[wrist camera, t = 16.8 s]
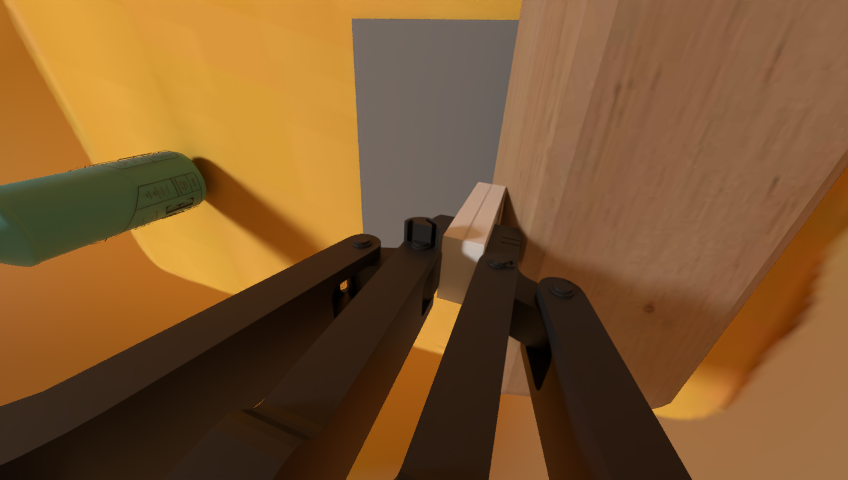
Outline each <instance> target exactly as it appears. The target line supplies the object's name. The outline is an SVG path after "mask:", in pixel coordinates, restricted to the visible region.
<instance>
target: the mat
mask: <svg viewBox="0 0 848 480" xmlns="http://www.w3.org/2000/svg"><path fill="white" fill-rule="evenodd" d="M518 25H519V20H437V19H352V32H353V50H354V69H355V87H356V106H357V125H358V143H359V162H360V180H361V199H362V217H363V234H370V235H373V236H376V237H377V238H379V239H380V241H381V247H387V248H398V247H399V246H400V245H401V244H402V243H403V242H404V221H405V220H407V219H408V218H412V217H428V218H431V219H433V218H434V217H436V216H438V215H440V214H442V215H447V216H452V217H456V215H457V214H458V212H459V211H460V209H461V208H462V206H463V205H464V203H465V202H466V200H467V199H468V197H469V196H470V194H471V192H472V191H473V189H474V188H475V186H476V185H477V183H478V182H482V183H488V184H492V183H493V177H494V171H495V165H496V159H497V153H498V147H499V141H500V135H501V128H502V122H503V116H504V110H505V104H506V98H507V92H508V86H509V80H510V74H511V68H512V61H513V55H514V49H515V43H516V37H517V31H518Z"/></svg>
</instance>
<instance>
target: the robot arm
mask: <svg viewBox="0 0 848 480" xmlns="http://www.w3.org/2000/svg"><path fill="white" fill-rule="evenodd" d="M505 188H506V186H500V185H494V184H488V183H482V182H478V183H477V185H476V186H475V188H474V189H473V191H472V192H471V194H470V196H469V197H468V199H467V200H466V202H465V203H464V205H463V206H462V208H461V209H460V211H459V212H458V214H457V215H456V217H452V216H447V215H442V214H440V215H438V216H436V217H434V218H433V219H431V218H428V217H412V218H408V219H407V220H405V221H404V242H403V243H402V244H401V245H400V246H399V247H398V248H387V247H381V241H380V239H379V238H377V237H376V236H373V235H370V234H358V235H354V236H351V237H348V238H346V239H344V240H342V241H340V242H338V243H336V244H334V245H332V246H330V247H328V248H326V249H325V250H323V251H321V252H319V253H317V254H315V255H313V256H311V257H309V258H307V259H305V260H303V261H301V262H299V263H297V264H295V265H293V266H291V267H289V268H287V269H285V270H283V271H281V272H279V273H277V274H275V275H273V276H271V277H269V278H267V279H265V280H263V281H261V282H259V283H257V284H255V285H253V286H251V287H249V288H247V289H245V290H243V291H241V292H239V293H237V294H235V295H233V296H231V297H229V298H227V299H226V300H223V301H221V302H220V303H218V304H216V305H214V306H212V307H210V308H208V309H206V310H204V311H202V312H200V313H198V314H196V315H194V316H192V317H190V318H188V319H186V320H184V321H182V322H180V323H178V324H176V325H174V326H172V327H170V328H168V329H166V330H164V331H162V332H160V333H158V334H156V335H154V336H152V337H150V338H148V339H146V340H144V341H142V342H140V343H138V344H136V345H134V346H132V347H130V348H128V349H126V350H125V351H122V352H120V353H119V354H116V355H114V356H112V357H111V358H109V359H107V360H105V361H103V362H101V363H99V364H97V365H95V366H93V367H91V368H89V369H87V370H85V371H83V372H81V373H79V374H77V375H75V376H73V377H71V378H69V379H67V380H65V381H63V382H61V383H59V384H57V385H55V386H53V387H51V388H49V389H47V390H45V391H43V392H40V393H37V394H34V395H32V396H29V397H26V398H23V399H20V400H17V401H14V402H12V403H9V404H6V405H3V406H0V480H346V478H347V476H348V474H349V472H350V470H351V468H352V466H353V464H354V462H355V460H356V458H357V456H358V454H359V452H360V450H361V448H362V446H363V444H364V442H365V440H366V438H367V436H368V434H369V432H370V430H371V428H372V426H373V424H374V422H375V420H376V418H377V416H378V414H379V412H380V410H381V408H382V406H383V404H384V402H385V400H386V398H387V396H388V394H389V392H390V390H391V388H392V386H393V384H394V382H395V380H396V378H397V376H398V374H399V372H400V370H401V368H402V366H403V364H404V362H405V360H406V358H407V356H408V354H409V352H410V350H411V348H412V346H413V344H414V342H415V340H416V338H417V336H418V334H419V332H420V330H421V328H422V326H423V324H424V322H425V320H426V318H427V316H428V314H429V312H430V310H431V308H432V306H433V300H434V294H435V292H436V290H437V288H438V290H437V298H441V299H444V300H448V301H452V302H455V303H459V304H462V306H461V308H460V311H459V314H458V316H457V319H456V322H455V324H454V327H453V330H452V333H451V335H450V338H449V341H448V343H447V346H446V349H445V351H444V354H443V357H442V360H441V362H440V365H439V368H438V370H437V373H436V376H435V378H434V381H433V384H432V386H431V389H430V392H429V395H428V397H427V400H426V403H425V405H424V408H423V411H422V413H421V416H420V419H419V421H418V424H417V427H416V430H415V432H414V435H413V438H412V440H411V443H410V446H409V448H408V451H407V454H406V457H405V459H404V462H403V464H402V467H401V469H400V472H399V473H398V475H397V477H396V478H395V479H394V480H489V473H490V466H491V459H492V452H493V445H494V438H495V431H496V424H497V417H498V416H497V415H498V410H499V402H500V395H501V388H502V381H503V374H504V367H505V360H506V353H507V346H508V339H509V336H510V337H512V338H514V339H515V340H517V341H519V342H520V350H521V355H522V359H523V364H524V368H525V373H526V377H527V382H528V386H529V391H530V395H531V399H532V404H533V409H534V413H535V418H536V422H537V426H538V431H539V436H540V440H541V444H542V449H543V454H544V458H545V462H546V467H547V471H548V476H549V480H692V479H691V477H690V475H689V474H688V472H687V470H686V468H685V467H684V465H683V463H682V461H681V460H680V458H679V456H678V454H677V453H676V451H675V449H674V447H673V446H672V444H671V442H670V440H669V439H668V437H667V435H666V434H665V432H664V430H663V428H662V427H661V425H660V423H659V421H658V420H657V418H656V416H655V414H654V413H653V411H652V409H651V407H650V406H649V404H648V402H647V401H646V399H645V397H644V395H643V394H642V392H641V390H640V388H639V387H638V385H637V383H636V381H635V380H634V378H633V376H632V374H631V373H630V371H629V369H628V368H627V366H626V364H625V362H624V361H623V359H622V357H621V355H620V354H619V352H618V350H617V348H616V347H615V345H614V343H613V341H612V340H611V338H610V336H609V335H608V333H607V331H606V329H605V328H604V326H603V324H602V322H601V321H600V319H599V317H598V315H597V314H596V312H595V310H594V308H593V307H592V305H591V303H590V302H589V300H588V298H587V296H586V295H585V293H584V292H583V290H582V289H581V288H580V287H579V286H577V285H576V284H574V283H573V282H571V281H569V280H567V279H564V278H558V277H546V278H543V279H541V281H540V282H539V283H537V282H535V281H533V280H531V279H529V278H527V277H526V276H524V275H523V274H522V273H521V272H520V271H519V269H518V268H519V267H518V256H519V250H520V243H521V236H522V234H521V233H520V231H519V230H518V229H517V228H512V227H507V226H502V225H498V223H499V218H500V213H501V208H502V203H503V198H504V193H505ZM346 280H347V288H345V289H343V290H341V289H340V284H341V283H342V282H344V281H346ZM262 400H263V401H262ZM261 401H262V402H261ZM260 402H261V403H260ZM259 403H260V404H259ZM257 404H259V405H258V406H257V407H255V406H256V405H257ZM254 407H255V408H254Z"/></svg>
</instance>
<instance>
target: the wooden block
mask: <svg viewBox="0 0 848 480" xmlns="http://www.w3.org/2000/svg"><path fill="white" fill-rule="evenodd" d="M847 166H848V0H523V1H522V7H521V13H520V19H519V25H518V31H517V37H516V43H515V49H514V55H513V61H512V68H511V74H510V80H509V86H508V92H507V98H506V104H505V110H504V116H503V122H502V128H501V135H500V141H499V147H498V153H497V159H496V165H495V171H494V177H493V183H492V184H494V185H500V186H506V188H505V193H504V198H503V203H502V208H501V213H500V218H499V223H498V225H502V226H507V227H512V228H517V229H518V230H519V231H520V233H521V234H522V236H521V243H520V250H519V256H518V267H519V268H518V269H519V271H520V272H521V273H522V274H523V275H524V276H526V277H527V278H529V279H531V280H533V281H535V282H537V283H539V282H540V281H541V279H543V278H546V277H558V278H564V279H567V280H569V281H571V282H573V283H574V284H576V285H577V286H579V287H580V288H581V289H582V290H583V292H584V293H585V295H586V296H587V298H588V300H589V302H590V303H591V305H592V307H593V308H594V310H595V312H596V314H597V315H598V317H599V319H600V321H601V322H602V324H603V326H604V328H605V329H606V331H607V333H608V335H609V336H610V338H611V340H612V341H613V343H614V345H615V347H616V348H617V350H618V352H619V354H620V355H621V357H622V359H623V361H624V362H625V364H626V366H627V368H628V369H629V371H630V373H631V374H632V376H633V378H634V380H635V381H636V383H637V385H638V387H639V388H640V390H641V392H642V394H643V395H644V397H645V399H646V401H647V402H648V404H649V406H650V407H651V409H654V408H658V407H662V406H665V405H667V404H669V403H671V402H672V400H673V399H674V398H675V396H676V395H677V394H678V392H679V391H680V390H681V388H682V387H683V386H684V384H685V383H686V382H687V380H688V379H689V378H690V376H691V375H692V374H693V372H694V371H695V370H696V368H697V367H698V366H699V364H700V363H701V361H702V360H703V359H704V357H705V356H706V355H707V353H708V352H709V351H710V349H711V348H712V347H713V345H714V344H715V343H716V341H717V340H718V339H719V337H720V336H721V335H722V333H723V332H724V331H725V329H726V328H727V327H728V325H729V324H730V323H731V321H732V320H733V319H734V317H735V316H736V315H737V313H738V312H739V311H740V309H741V308H742V307H743V305H744V304H745V302H746V301H747V300H748V298H749V297H750V296H751V294H752V293H753V292H754V290H755V289H756V288H757V286H758V285H759V284H760V282H761V281H762V280H763V278H764V277H765V276H766V274H767V273H768V272H769V270H770V269H771V268H772V266H773V265H774V264H775V262H776V261H777V260H778V258H779V257H780V256H781V254H782V253H783V252H784V250H785V249H786V248H787V246H788V245H789V243H790V242H791V241H792V239H793V238H794V237H795V235H796V234H797V233H798V231H799V230H800V229H801V227H802V226H803V225H804V223H805V222H806V221H807V219H808V218H809V217H810V215H811V214H812V213H813V211H814V210H815V209H816V207H817V206H818V205H819V203H820V202H821V201H822V199H823V198H824V197H825V195H826V194H827V193H828V191H829V190H830V189H831V187H832V186H833V184H834V183H835V182H836V180H837V179H838V178H839V176H840V175H841V174H842V172H843V171H844V170H845V168H846V167H847ZM501 393H502V394H511V395H520V396H530V397H531V395H530V391H529V386H528V382H527V377H526V373H525V368H524V364H523V359H522V355H521V350H520V342H519V341H517V340H515V339H514V338H512V337H510V336H509V339H508V346H507V353H506V360H505V367H504V374H503V381H502V388H501Z"/></svg>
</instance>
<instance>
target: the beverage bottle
mask: <svg viewBox="0 0 848 480" xmlns="http://www.w3.org/2000/svg"><path fill="white" fill-rule="evenodd" d="M163 151H166V150H163ZM160 152H161V151H160ZM155 153H156V152H155ZM149 154H151V153H149ZM144 155H147V154H144ZM138 156H142V155H138ZM134 157H136V158H134ZM128 158H131V157H128ZM123 159H126V158H123ZM119 160H121V159H119ZM119 160H118V161H117V162H112V163H107V162H106V164H103V163H102V164H101V165H97V166H94V165H95V164H94V165H93V166H92V167H87V168H86V167H85V168H82V169H77V170H73V171H71V170H70V171H68V172H65V173H60V174H55V175H50V176H45V177H40V178H35V179H30V180H25V181H20V182H15V183H10V184H5V185H0V263H3V264H9V265H15V266H23V267H32V266H35V265H38V264H40V263H41V262H43V261H46V260H49V259H51V258H54V257H57V256H59V255H62V254H65V253H67V252H70V251H73V250H76V249H78V248H81V247H84V246H87V245H89V244H92V243H95V242H97V241H101V240H104V239H107V238H109V237H112V236H115V235H117V234H120V233H123V232H126V231H128V230H131V229H134V228H137V227H139V226H142V225H144V226H145V225H146V224H147V223H151V222H153V221H156V220H159V219H162V220H163V218H166V217H167V218H168V217H169V216H170V217H171V216H172V215H176V214H179V213H181V212H180V211H182V210H186V209H188V208H191V207H193V206H196V205H198V204H200V203H201V202H202V201H203V200H204V199H205V197H206V185H205V182H204V179H203V177H202V175H201V173H200V171H199V170H198V168H197V167H196V166H195V164H194V163H193V162H192V161H191V160H190V159H189V158H187V157H186V156H184V155H183V154H181V153H178V152H171V151H170V152H161V153H159V152H158V153H156V154H152V155H147V156H142V157H137V156H133V158H131V159H127V160H122V161H119ZM114 161H115V160H114ZM108 162H110V161H108ZM104 163H105V162H104ZM99 164H100V163H99ZM194 208H195V207H194ZM188 210H189V209H188ZM186 211H187V210H186ZM177 212H178V213H177ZM182 212H184V211H182ZM153 223H154V222H153ZM147 225H149V224H147ZM144 226H143V227H144ZM140 228H141V227H140ZM134 230H136V229H134ZM105 241H106V240H105Z"/></svg>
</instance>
